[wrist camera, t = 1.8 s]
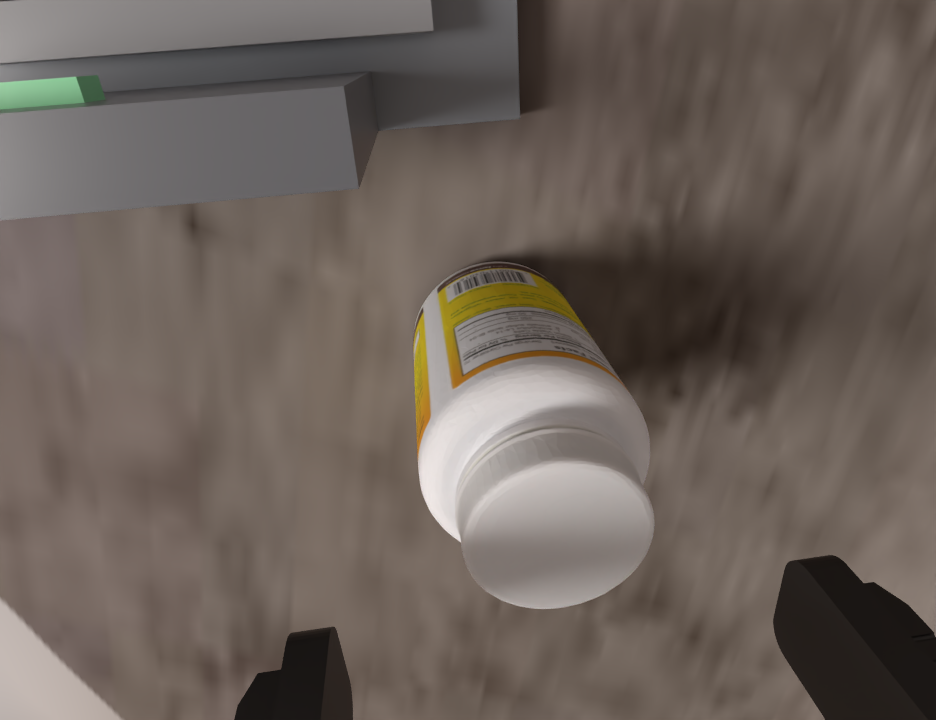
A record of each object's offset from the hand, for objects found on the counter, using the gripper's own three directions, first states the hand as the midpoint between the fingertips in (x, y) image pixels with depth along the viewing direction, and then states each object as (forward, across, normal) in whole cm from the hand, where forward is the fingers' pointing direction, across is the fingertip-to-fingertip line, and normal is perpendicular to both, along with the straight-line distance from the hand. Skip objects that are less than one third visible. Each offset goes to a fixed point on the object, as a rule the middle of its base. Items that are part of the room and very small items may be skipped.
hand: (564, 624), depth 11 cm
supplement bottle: (+12, 0, 0) cm, 12 cm away
